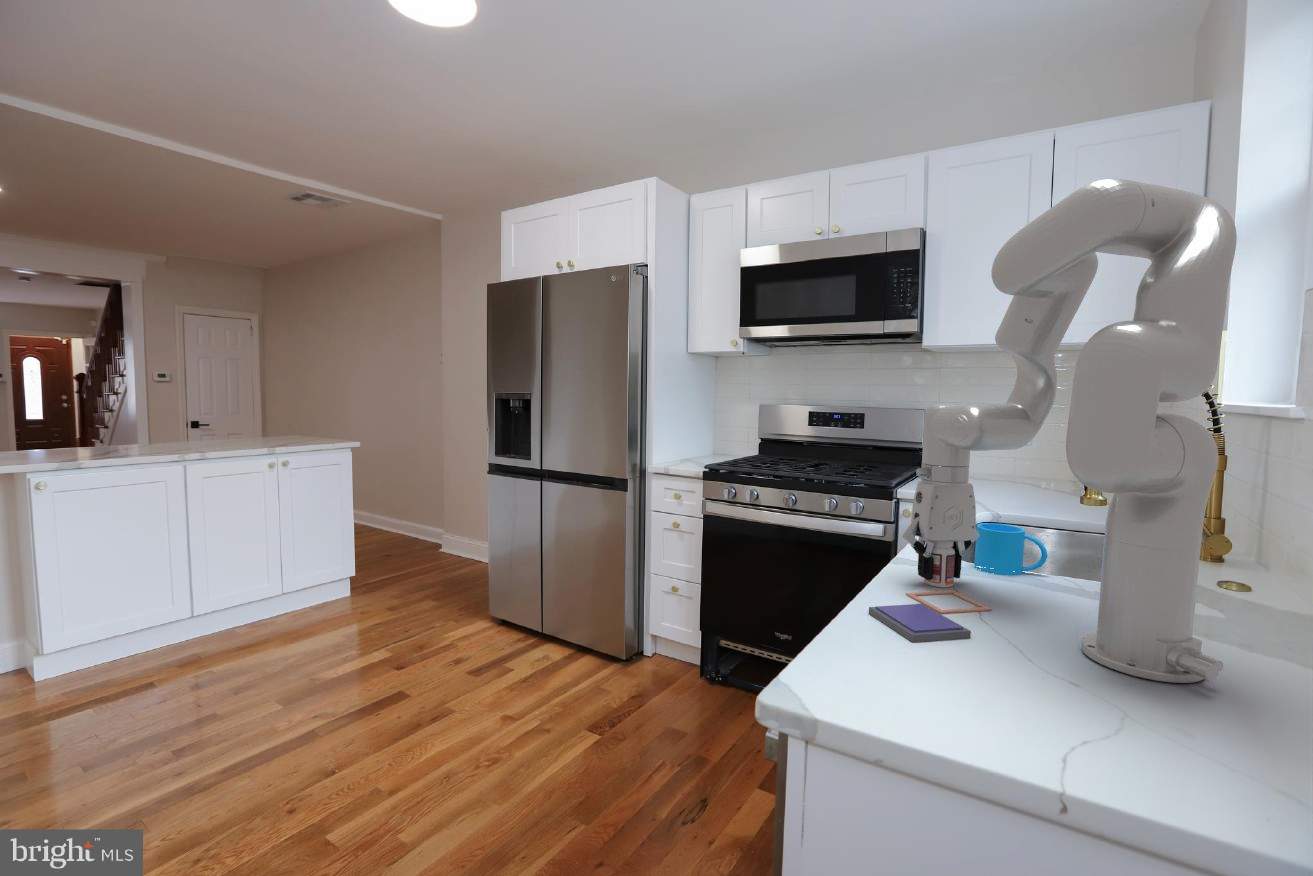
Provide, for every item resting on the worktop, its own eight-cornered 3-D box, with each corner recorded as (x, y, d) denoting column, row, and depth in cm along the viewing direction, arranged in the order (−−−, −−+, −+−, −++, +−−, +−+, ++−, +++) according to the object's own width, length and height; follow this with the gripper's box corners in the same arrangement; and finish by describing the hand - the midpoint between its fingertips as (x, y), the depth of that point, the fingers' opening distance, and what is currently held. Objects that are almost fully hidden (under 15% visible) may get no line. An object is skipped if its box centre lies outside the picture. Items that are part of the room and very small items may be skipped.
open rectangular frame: (991, 610, 98) (991, 608, 98) (940, 614, 96) (940, 612, 96) (953, 592, 107) (953, 590, 107) (905, 594, 105) (905, 593, 105)
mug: (971, 570, 120) (974, 528, 119) (976, 561, 127) (979, 521, 126) (1045, 582, 114) (1048, 537, 113) (1046, 571, 120) (1049, 529, 120)
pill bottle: (947, 580, 114) (950, 534, 113) (957, 588, 109) (960, 541, 108) (920, 579, 114) (922, 533, 113) (928, 587, 109) (931, 539, 109)
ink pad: (970, 638, 87) (971, 628, 87) (912, 642, 85) (913, 633, 85) (921, 610, 98) (921, 602, 98) (868, 613, 96) (869, 605, 96)
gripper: (914, 478, 104) (908, 586, 106) (1002, 477, 108) (995, 581, 109) (888, 472, 112) (883, 572, 113) (972, 471, 115) (966, 568, 117)
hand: (938, 575), depth 111 cm, fingers closed on pill bottle, 4 cm apart
